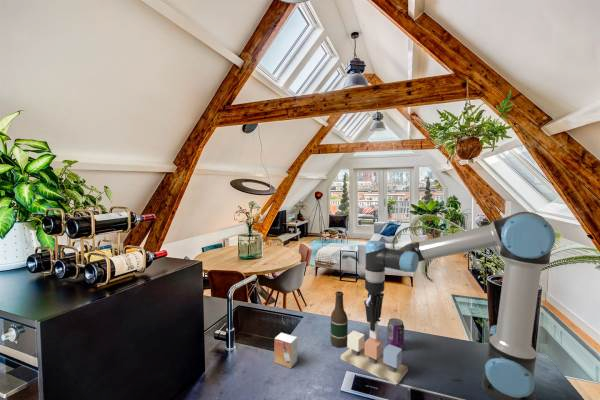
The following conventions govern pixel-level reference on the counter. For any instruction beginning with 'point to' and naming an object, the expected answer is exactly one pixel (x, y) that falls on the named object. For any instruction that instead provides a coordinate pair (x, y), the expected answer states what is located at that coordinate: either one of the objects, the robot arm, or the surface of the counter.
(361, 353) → the board
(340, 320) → the beer bottle
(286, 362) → the small box
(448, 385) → the counter surface
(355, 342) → the cream cube
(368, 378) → the counter surface
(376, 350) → the salmon orange cube
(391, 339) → the beverage can
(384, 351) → the light blue cube
